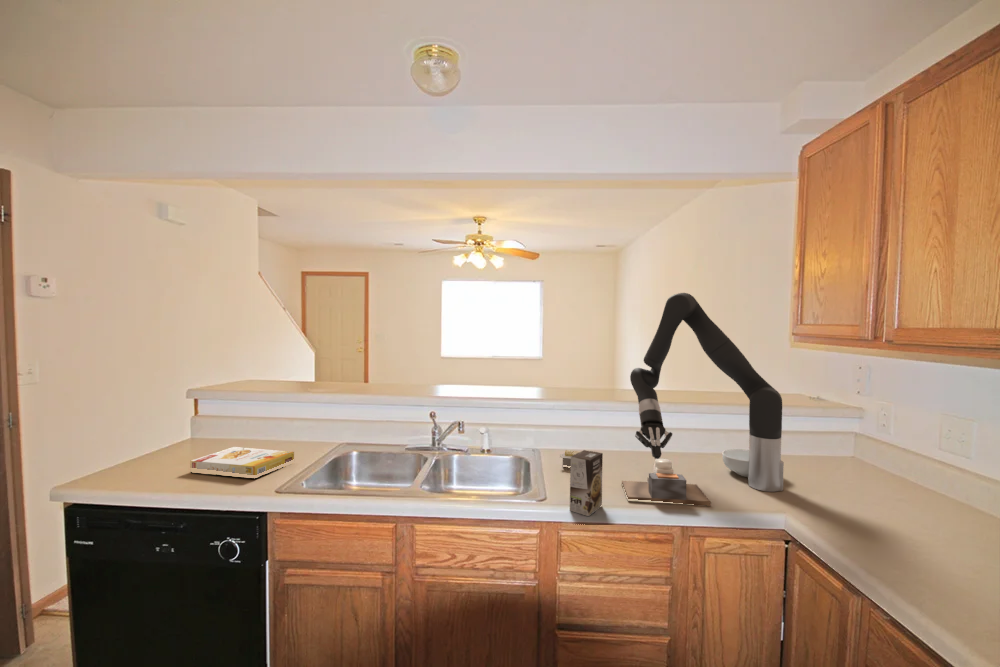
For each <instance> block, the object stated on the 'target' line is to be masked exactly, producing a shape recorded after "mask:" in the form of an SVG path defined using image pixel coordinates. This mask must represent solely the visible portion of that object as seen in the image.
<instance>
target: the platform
mask: <svg viewBox="0 0 1000 667" xmlns="http://www.w3.org/2000/svg"><path fill="white" fill-rule="evenodd" d="M579 452H580V451H575V450H574V451H568V450H567V449H566V450H565V451H564V453H562V454H560V455H559V458H562V466H563V465H567V466H571V456H573V455H575V454H577V453H579Z"/></svg>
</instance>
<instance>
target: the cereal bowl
mask: <svg viewBox="0 0 1000 667" xmlns="http://www.w3.org/2000/svg"><path fill="white" fill-rule="evenodd" d="M721 456H722V462H723V464H724V466H725V467H726V468H727V469H728V470H730V471H731V472H734V473H735V474H736V475H738V476H741V477H745V478H748V475H749V449H742V448H733V449H726V450H723V451H722V453H721Z"/></svg>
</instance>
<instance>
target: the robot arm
mask: <svg viewBox="0 0 1000 667" xmlns="http://www.w3.org/2000/svg"><path fill="white" fill-rule="evenodd" d="M682 322H684V323H685V324H686V325H688V327H689V328H690V329H691V330H692V331H693V333H694V335H695V336H696V339H697V341H698V343H699V345H700V346H701V349H702V350H703V351H704V353H705V354H706V356H707V358H709V359H710V361H711V362H712V363H713V364H714V365H715V366H716V367H717V368H718V369H719V370H720V371H722V372H723V373H724V374H725V375H726V376H728V377H729V378H730V379H731V380H733V381H734V382H735V383H736V384H737V385H738V387H739V388H740V389H741V390H742V392H744V394H745V396H746V397H747V398H748V400H749V405H748V406H749V407H748V408H749V409H748V411H749V414H748V416H749V417H748V421H749V422H748V425H749V426H748V429H749V430H748V431H749V436H748V438H749V439H748V444H749V446H748V450H749V475H748V477H747V478H748V479H747V480H748V481H747V482H748V483H747V484H748V486H749V487H750V488H752V489H755V490H758V491H764V492H771V493H774V492H779V491H784V469H785V468H784V461H783V460H782V432H783V431H782V430H783V399H782V395H781V393H780V392H779V391H777V389H775V387H773V386H772V385H771V384H769V382H767V381H766V380H765V379H764V378H763V377H762V376H761V375H760V374H759V373H758V371H756V370H755V368H754V367H753V366H752V364H751V363H750V362H749V360H748V359H747V358H746V357H745V355H744V354H743V353H742V352H741V349H739V347H738V346H737V345H736V344H735V343H734V342H733V341H732V339H731V338H729V336H728V335H727V334H725V333H724V331H723V330H722V329H721V328H720V327H719V326H718V325H717V324H716V323H715V322H714V321H713V320H712V319H711V318H710V316H708V314H707V313H706V312H705V311H704V309H703V307H702V306H701V305H700V303H699V302H698V300H697V299H696V297H694V296H693V295H691V294H690V293H687V292H680V293H679V292H678V293H675V294H673V295H671V296H669V297H668V298H667V300H666V301H665V304H664V309H663V312H662V315H661V319H660V322H659V325H658V327H657V329H656V333H655V335H654V336H653V339H652V341H651V343H650V344H649V347H648V349H647V351H646V353H645V355H644V358H643V363H644V365H646V366H647V367H649V368H650V370H649V369H645V368H641V367H635V368H633V369H632V370H631V372H630V375H629V377H630V384H631V386H632V388H633V390H634V392H635V395H636V396H637V401H638V415H639V420H640V429H639V430H636V432H635V435H634V437H635V438H636V439H637V440H638V441H639V442H640V443H641V444H642V445H643V446H644V447H645V448H649V449H650V450H651V456H652V457H653V458H654V459H655V460H656V459H661V456H662V449H664V448H665V447H666V446H667V444H668V443H669V442H670V440H671V439H672V437H673V432H671V431H667V430H666V428H665V426H664V423H663V417H662V412H661V407H660V404H659V400H658V399H659V398H658V394H657V391H656V390H655V388H656V387H657V386H658V385H659V381H660V375H661V370H662V366H663V364H664V362H665V359H666V358H667V356H668V355H669V352H670V349H671V345H672V342H673V338H674V336H675V334H676V332H677V330H678V327H679V326H680V325H681V323H682ZM663 436H664V439H662V438H663ZM661 439H662V441H661Z"/></svg>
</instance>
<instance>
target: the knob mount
mask: <svg viewBox="0 0 1000 667" xmlns="http://www.w3.org/2000/svg"><path fill="white" fill-rule="evenodd" d="M646 479H647V480H646V481H635V480H633V481H632V480H631V481H630V480H621V485H622V484H623V487H624V489H625V492H626V495H627V497H628V499H638V500H651V501H663V502H673V503H683V504H694V505H693V506H698V505H707V506H706V507H711V506H712V505H711V503H712V502H711V500H710V499H709V497H708V496H707V495H706V493H704V492H703V490H702V489H701V488H700V487H699V486H698V484H697V483H696V484H695V483H692V484H691V483H687V479H686V478H685V476H684V475H683V474H678V473H673V474H664V473H654V472H650V473H648V477H647V478H646ZM623 487H622V488H623ZM625 492H624V493H625ZM626 495H625V496H626Z"/></svg>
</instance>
